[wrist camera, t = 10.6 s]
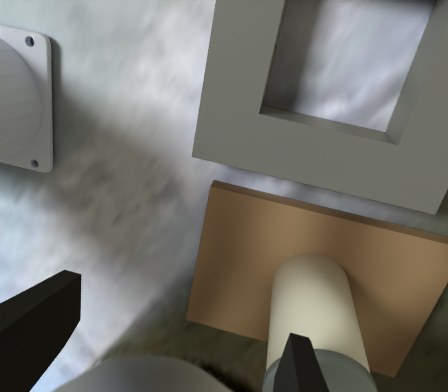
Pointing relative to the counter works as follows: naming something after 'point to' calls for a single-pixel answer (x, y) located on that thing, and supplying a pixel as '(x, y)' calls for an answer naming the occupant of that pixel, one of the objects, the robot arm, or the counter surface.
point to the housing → (318, 127)
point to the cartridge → (318, 322)
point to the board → (320, 244)
